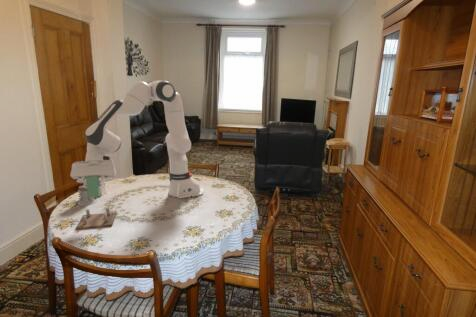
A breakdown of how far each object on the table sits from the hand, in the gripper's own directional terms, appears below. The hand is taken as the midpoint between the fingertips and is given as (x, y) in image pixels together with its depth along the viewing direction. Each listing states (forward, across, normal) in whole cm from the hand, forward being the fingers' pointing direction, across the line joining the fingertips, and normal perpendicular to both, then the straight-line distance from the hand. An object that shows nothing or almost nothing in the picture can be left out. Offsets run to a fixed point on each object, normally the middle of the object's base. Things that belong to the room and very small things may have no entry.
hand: (92, 185), depth 141 cm
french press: (-5, -10, +33) cm, 35 cm away
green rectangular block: (+4, 0, +5) cm, 6 cm away
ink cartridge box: (-14, -7, +42) cm, 45 cm away
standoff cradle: (+13, 0, +14) cm, 20 cm away
